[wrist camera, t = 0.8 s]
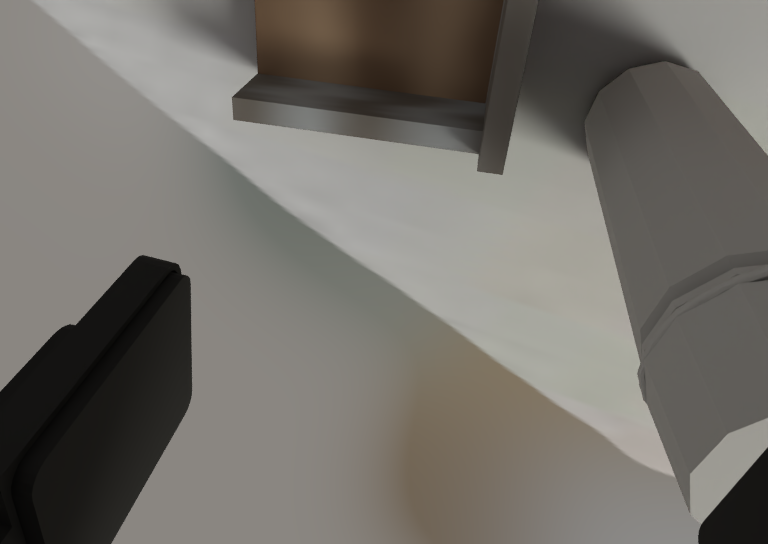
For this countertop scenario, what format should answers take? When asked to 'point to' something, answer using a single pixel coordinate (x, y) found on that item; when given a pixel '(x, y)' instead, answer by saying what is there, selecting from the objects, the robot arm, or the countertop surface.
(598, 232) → the countertop surface
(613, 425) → the countertop surface
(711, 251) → the water bottle
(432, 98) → the shelf
